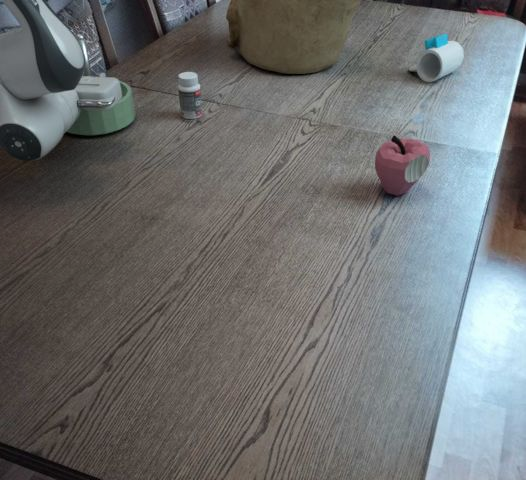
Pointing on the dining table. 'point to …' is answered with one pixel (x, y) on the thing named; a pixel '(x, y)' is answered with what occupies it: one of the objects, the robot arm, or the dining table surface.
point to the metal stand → (87, 64)
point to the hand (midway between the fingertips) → (79, 75)
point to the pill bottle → (189, 95)
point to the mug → (438, 58)
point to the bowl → (106, 116)
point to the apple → (401, 164)
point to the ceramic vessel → (290, 32)
